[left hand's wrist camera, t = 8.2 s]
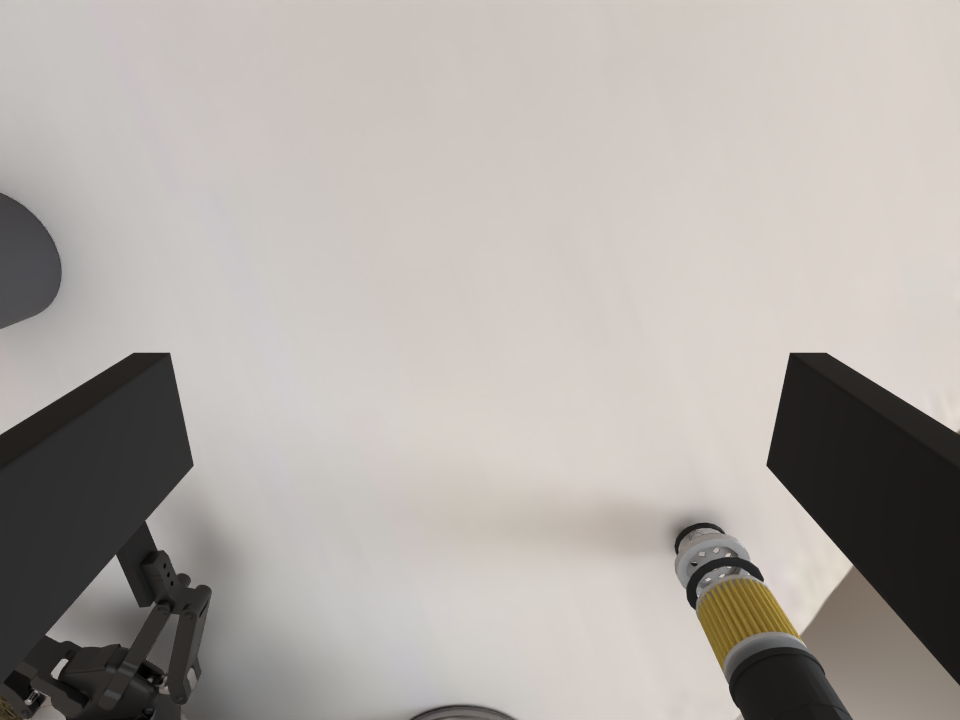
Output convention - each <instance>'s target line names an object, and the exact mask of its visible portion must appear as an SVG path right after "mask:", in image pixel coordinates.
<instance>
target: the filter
mask: <svg viewBox="0 0 960 720" xmlns="http://www.w3.org/2000/svg"><path fill="white" fill-rule="evenodd" d="M700 528H712V529H715V530H718V531H719V532H720V533H710V534H705V535H704V534H703V532H702V531H699V530H696V529H700ZM693 530H694V531H693ZM691 531H692V532H691ZM689 532H691V533H689ZM688 533H689V538H690V541H689V542H688V543H687V544H686V545H685V546H684V547H682V549H681V550H680V551H678V548H679V545H680V542H681V540H682V539H683V538H684V536H686V535H687V534H688ZM695 533H700V534H702V536H699V537H696V538H694V539H692V536H693V535H694V534H695ZM715 547H717V548H719V552H717V553H714V552H713V550H714V549H715ZM675 551H676V554H677V557H676V560H675V572H676V574H677V577H678V579H679V581H680V583H681V584H682V586H683V587H684V588H685V589H686V592H687V600H688V602H689V604H690V605H691V607H692V608H694V609H695V610H696V614H697V617H698V619H699V621H700V623H701V625H702V627H703V629H704V632H705V634H706V636H707V638H708V640H709V642H710V645H711V647H712V649H713V651H714V653H715V656H716V658H717V660H718V662H719V664H720V667H721V669H722V671H723V673H724V675H725V678H726V680H727V682H728V684H729V691H730V694H731V697H732V699H733V701H734V703H735V704H736V706H737V707H738V708H739V709H740V711H741V713H742V715H743V717H744V719H745V720H853V719H852V718H851V716H850V714H849V713H848V711H847V710H846V708H845V707H844V705H843V704H842V702H841V700H840V699H839V697H838V696H837V694H836V693H835V691H834V689H833V688H832V686H831V685H830V683H829V682H828V680H827V679H826V677H825V672H824V670H823V668H822V666H821V665H820V663H819V662H818V660H817V659H816V658H815V657H814V656H813V655H812V654H810V653H809V651H808V649H807V647H806V646H805V644H804V643H803V641H802V640H801V638H800V637H799V635H798V633H797V632H796V630H795V629H794V627H793V626H792V624H791V623H790V621H789V619H788V618H787V616H786V615H785V613H784V612H783V610H782V609H781V607H780V605H779V604H778V602H777V601H776V599H775V598H774V596H773V595H772V593H771V591H770V590H769V589H768V587H767V585H766V584H765V583H763V581H764V579H763V577H762V575H761V573H760V571H759V569H758V568H757V567H756V566H755V565H753V564H752V563H751V562H750V557H749V554H748V553H747V551H746V549H745V548H744V546H743V545H742V544H741V543H740V542H739V541H738V540H737V539H736V538H734V537H732V536H730V535H726V534H725V533H724V531H723V530H722V529H721V528H720V527H718V526H716V525H714V524H710V523H698V524H695V525H692V526H689V527H687V528H686V529H684V530H683V531H682V532H681V533H680V534H679V536H678V537H677V539H676V542H675ZM700 551H702V552H705V556H699V554H698V553H699V552H700ZM726 553H731V555H730V557H725V555H726ZM691 562H697V563H691ZM727 566H731V568H729V569H728V568H727ZM716 568H718V569H717V570H714V569H716ZM712 570H714V571H712ZM748 573H749V574H750V575H748ZM721 574H725V576H724V577H722V578H719V576H720V575H721ZM707 578H711V580H710V581H705V579H707ZM697 595H700V596H699V597H697Z"/></svg>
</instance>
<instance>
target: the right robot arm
mask: <svg viewBox="0 0 960 720" xmlns="http://www.w3.org/2000/svg"><path fill="white" fill-rule="evenodd" d="M116 555H117V558H118V560H119V562H120V564H121V567H122V569H123V571H124V573H125V576H126V578H127V580H128V582H129V585H130V587H131V589H132V591H133V594H134V596H135V598H136V600H137V603H138V605H139V607H149V606H151V604H152V603H153V601H155V603H156V605H155V607H154V608H153V610H152V612H151V613H150V615H149V617H148V619H147V620H146V622H145V624H144V626H143V627H142V629H141V631H140V633H139V634H138V636H137V638H136V640H135V641H134V643H133V645H132V647H131V648H130V649H128V648H124V647H121V645H120V644H113V645H108V646H105V647H103V648H99V647H84V648H81V647H79V646H78V645H76V644H74V643H72V642H70V641H65V642H62V643H59V642H57V641H55V640H53V639H51V638H49V637H48V636H46V635H44V636H43V638H42V639H41V640H40V641H39V642H38V643H37V644H36V645H35V647H34V648H33V649H32V650H31V651H30V652H29V653H28V655H27V656H26V657H25V658H24V659H23V660H22V661H21V663H20V664H19V665H18V666H17V667H16V668H15V669H14V671H13V672H12V673H11V674H10V675H9V676H8V677H7V678H6V680H5V681H4V682H3V683H2V684H1V685H0V696H2V697H3V698H5V699H6V700H7V701H8V702H9V704H10V705H11V706H12V708H13V709H14V710H15V712H16V713H17V714H18V715H19V716H20V717H22V718H24V719H30V718H32V717H33V715H34V714H35V713H36V711H37V710H38V709H39V708H40V707H46V706H51V705H53V707H54V708H55V709H57V710H58V711H60V712H61V713H62V714H63V715H64V716H65V717H66V720H187V719H186V717H185V715H184V713H183V712H182V710H181V706H180V705H182V704H185V703H186V702H187V700H188V698H189V696H190V694H191V693H192V691H193V689H194V687H195V685H196V683H197V681H198V679H199V677H200V675H201V670H200V666H199V662H198V658H197V655H198V651H199V646H200V642H201V637H202V633H203V629H204V624H205V620H206V616H207V611H208V607H209V603H210V598H211V594H212V591H211V589H210V588H209V587H208V586H206V585H199V586H198V587H197V588H196V589H193V588H187V587H188V586H189V584H190V582H191V579H190V577H189V576H188V575H186V574H183V573H180V574H177V575H176V573H175V571H174V569H173V567H172V564H171V561H170V559H169V556H168V555H167V554H166V553H165V552H164V550H161V551H157V548H156V546H155V543H154V541H153V538H152V536H151V534H150V531H149V529H148V526H147V524H146V521H144V523H143V524H142V525H141V526H140V527H139V528H138V529H137V531H136V532H135V533H134V534H133V535H132V536H131V537H130V539H129V540H128V541H127V542H126V543H125V544H124V545H123V546H122V548H121V549H120V550H119V551H118V552H117V553H116ZM171 614H178V615H180V618H179V623H178V627H177V632H176V637H175V642H174V647H173V651H172V656H171V661H170V666H169V670H168V672H167V673H166V675H165V674H164V672H163V671H162V670H161V669H160V668H158V667H157V666H155V665H153V664H152V663H150V662H149V661H147V660H146V657H147V655H148V653H149V652H150V650H151V648H152V647H153V645H154V643H155V642H156V639H157V638H158V636H159V634H160V633H161V631H162V629H163V628H164V626H165V624H166V622H167V621H168V619H169V617H170V616H171ZM64 658H65V659H67V660H69V661H68V662H67V663H66V665H65V666H64V667H63V669H62V670H61V672H60V674H59V677H58V680H56V679H54V678H53V676H52V674H51V672H52V670H53V669H54V668H55V667H56V665H57V664H58V663H59V662H60V660H61V659H64ZM413 720H513V719H511V718H509V717H507V716H505V715H503V714H500V713H498V712H495V711H491V710H487V709H482V708H475V707H450V708H444V709H439V710H435V711H431V712H428V713H426V714H423V715H421V716H419V717H417V718H415V719H413Z"/></svg>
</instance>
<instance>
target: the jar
mask: <svg viewBox="0 0 960 720" xmlns="http://www.w3.org/2000/svg"><path fill="white" fill-rule="evenodd" d="M60 281H61V265H60V260H59V255H58V252H57V249H56V247H55V245H54V242H53V240H52V238H51V237H50V235H49V233H48V232H47V230H46V229H45V228H44V226H43V225H42V224H41V222H40V221H39V220H38V219H37V218H36V217H35V216H34V215H33V214H32V213H31V212H30V211H29V210H27V209H26V208H25V207H24V206H22V205H21V204H19V203H18V202H17V201H15V200H13V199H11V198H10V197H8V196H6V195H3V194H1V193H0V329H2V328H4V327H7V326H9V325H12V324H14V323H17V322H19V321H22V320H24V319H27V318H30V317H32V316H35V315H37V314H38V313H40V312H42V311H43V310H44V309H46V308H47V307H48V306H49V305H50V304H51V302H52V301H53V299H54V298H55V296H56V294H57V292H58V289H59V286H60Z"/></svg>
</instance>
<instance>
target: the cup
mask: <svg viewBox="0 0 960 720" xmlns="http://www.w3.org/2000/svg"><path fill="white" fill-rule="evenodd" d="M0 720H23V718H22V717H20V716H19V715H18V714H17V713H16V712H15V710H14V709H13V708H12V706H11V705H10V704H9V702H8V701H7V700H6V699H5V698H3V697H2V696H0Z"/></svg>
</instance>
